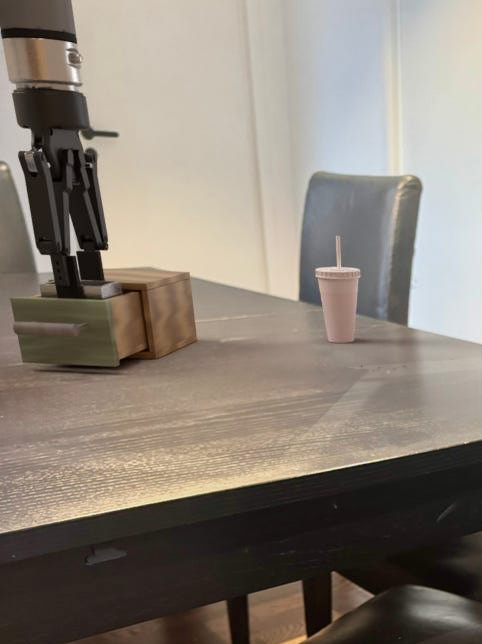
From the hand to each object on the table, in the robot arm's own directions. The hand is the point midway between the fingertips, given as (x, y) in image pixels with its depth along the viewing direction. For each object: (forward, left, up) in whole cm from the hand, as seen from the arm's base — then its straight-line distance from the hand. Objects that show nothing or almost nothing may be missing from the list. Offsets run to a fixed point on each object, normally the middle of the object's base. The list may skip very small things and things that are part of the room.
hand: (85, 310), depth 110 cm
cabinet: (0, +11, -6) cm, 13 cm away
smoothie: (+26, +23, -6) cm, 36 cm away
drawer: (0, -1, -5) cm, 6 cm away
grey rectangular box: (0, 0, 0) cm, 0 cm away
